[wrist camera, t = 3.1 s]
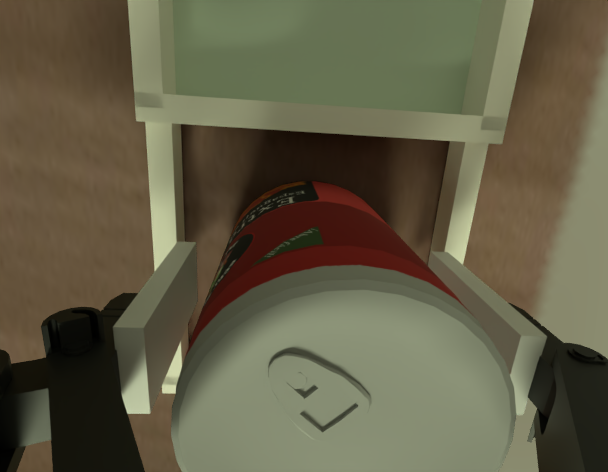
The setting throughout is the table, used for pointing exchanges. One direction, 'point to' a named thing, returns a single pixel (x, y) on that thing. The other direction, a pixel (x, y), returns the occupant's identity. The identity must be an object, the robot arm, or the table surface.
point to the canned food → (336, 352)
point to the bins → (326, 86)
